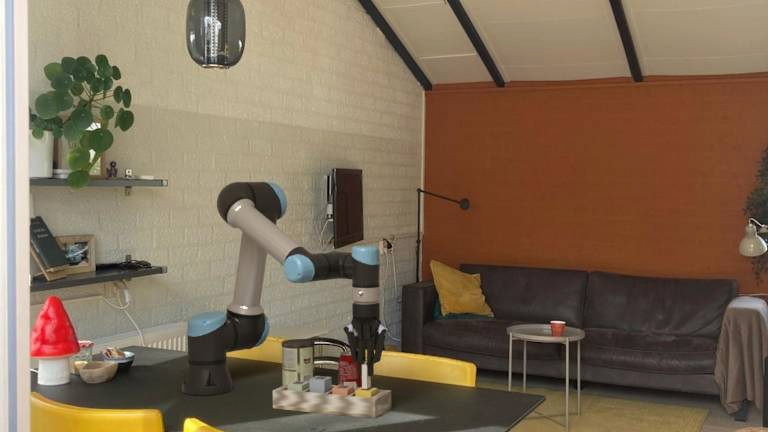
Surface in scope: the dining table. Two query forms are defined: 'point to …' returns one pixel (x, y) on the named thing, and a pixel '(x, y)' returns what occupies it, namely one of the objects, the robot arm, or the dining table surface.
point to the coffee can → (297, 360)
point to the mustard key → (366, 392)
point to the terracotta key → (343, 390)
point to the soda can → (348, 370)
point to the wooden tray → (332, 402)
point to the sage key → (298, 386)
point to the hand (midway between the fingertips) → (366, 387)
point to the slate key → (320, 384)
